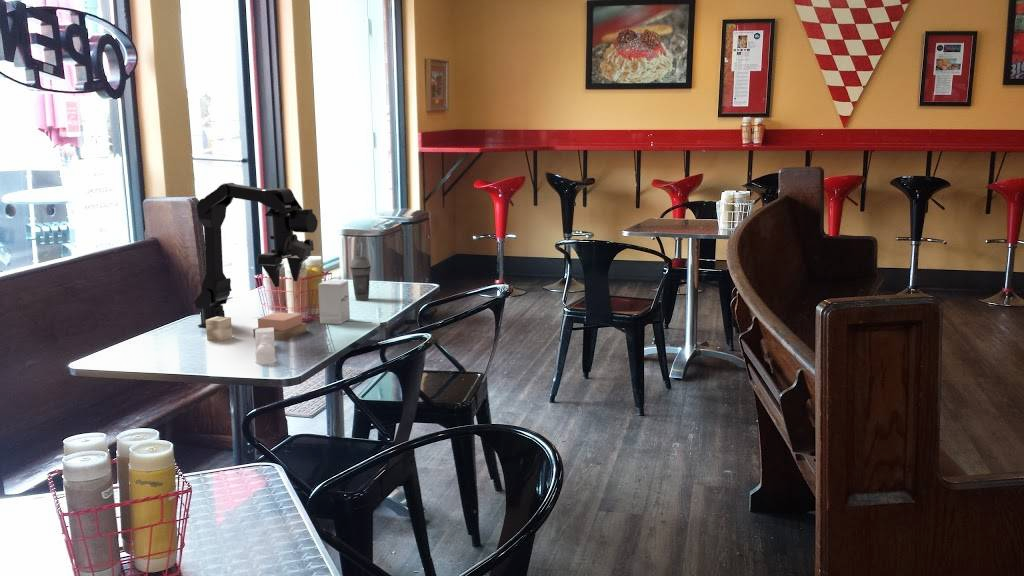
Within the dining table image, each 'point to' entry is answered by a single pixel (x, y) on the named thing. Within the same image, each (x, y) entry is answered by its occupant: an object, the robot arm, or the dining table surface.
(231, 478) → the dining table surface
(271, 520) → the dining table surface
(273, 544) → the dining table surface
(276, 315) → the terracotta top slab
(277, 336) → the walnut base slab
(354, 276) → the beverage cup
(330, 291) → the supplement box
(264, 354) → the container set
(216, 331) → the birch cube
